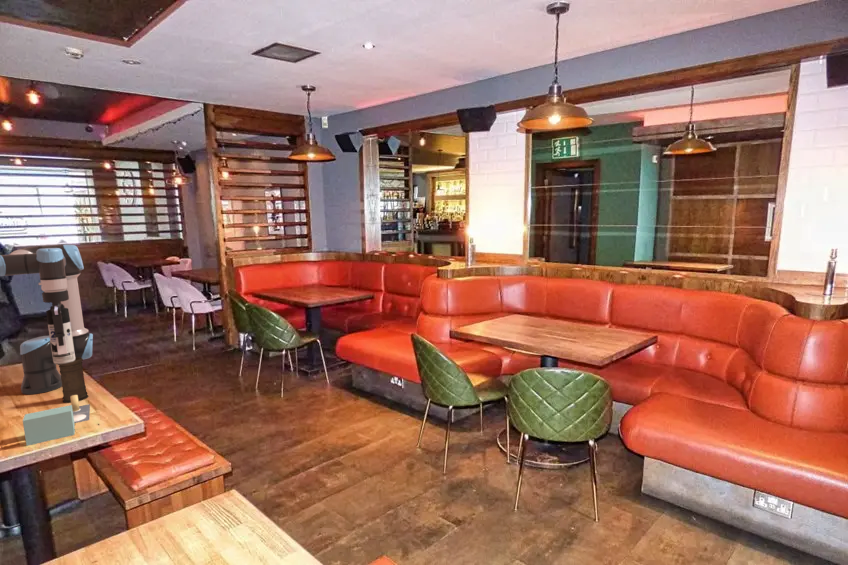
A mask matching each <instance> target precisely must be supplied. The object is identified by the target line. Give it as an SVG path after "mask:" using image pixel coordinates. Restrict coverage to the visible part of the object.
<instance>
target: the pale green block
mask: <svg viewBox="0 0 848 565" xmlns="http://www.w3.org/2000/svg"><path fill="white" fill-rule="evenodd" d="M75 424H76V423H74V417H73V410H72V405H71V404H70V405H64V406H61V407H60V406H59V407H55V408H49V409H45V410H41V411H35V412H30V413H25V414H24V416H23V419H22V426H23V431H24V438H25V442H26V447H27V446H31V445H36V444H42V443H45V442H50V441H53V440H58V439H62V438H63V439H64V438H67V437H70V436H71V437H72V436H75V432H76V431H75V430H76V428H75Z"/></svg>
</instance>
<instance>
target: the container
mask: <svg viewBox="0 0 848 565" xmlns="http://www.w3.org/2000/svg"><path fill="white" fill-rule="evenodd" d="M83 360H84V359H82V358H81V357H75V361H73V362H70V363H66V364H57V366H58V368H59V374H60V375H61V381H62V386H61V387H62V395H63V396H62V403H64V404H71V399H70V396H72V395H78V401H79V402H82V401H84V400H86V399H88V398H89V395H88V394H89V392H88V391H87V386H86V383H85V381H86V380H85V375H84V367H83Z"/></svg>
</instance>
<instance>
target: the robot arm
mask: <svg viewBox="0 0 848 565" xmlns="http://www.w3.org/2000/svg"><path fill="white" fill-rule="evenodd" d="M84 269H85V268H84V263H83V260H82V255H81V253H80V250H79V248H78V246H76V245H75V244H55V245H39V246H38V245H36V246H35V245H34V246H28V247H24V248H20V249H17V250H16V249H15V250H14V251H12V252H11V253H9V254H0V277H5V276H6V277H7V276H15V275H16V276H17V275H18V276H19V275H32V274H35V275H36V274H39V280H40V282H38V286H41V291H43V292H42V293H41V294H42V295H41V296H42V302H44V303H45V304H48V303H49V304H50V303H51V305H52V306H50V307H49V310H50V311H51V312H52V316H53V317H52V318H53V323H54V331H55V336H53V338H56V343H57V350H58V355H61V354H67V353H68V352H67V345H66V338H65V334H64V327H63V320H62V318H63V317H64V314H63V315H62V317H61V310H64V308H68V311H69V317H70V323H71V330H72V337H73V344H74V351H75V357H81V358H82V359H83V360H87V359H90V358H91V357H92V356H93V342H94V341H93V339H94V338H93V337H94V334H93V333H90V332H89V329H88V328H85V325H84V317H83V311H82V303H81V302H82V301H81V297H80V289H79V283H78V282H79V281H78V277H79V276H80V275H81V274H82V273H81V272H82V270H84ZM60 332H61V333H60ZM19 351H20V353H19V355H20V357H21V364H22V372H23V377H22V382H21V385H20V392H21V394H23V395H38V394H42V393H46V392H52V391H54V390H57V389H60V388H61V387H62V381H61V374H60V371H59V370H58V369H57V364H54V362H53V356H52V349H51V342H50V336H49V335H43V336H38V337H33V338H31V339H28V340H26V341H25V340H24V341H23V342H22V343H20V346H19Z"/></svg>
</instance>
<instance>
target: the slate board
mask: <svg viewBox="0 0 848 565" xmlns="http://www.w3.org/2000/svg"><path fill="white" fill-rule="evenodd" d="M70 399H71V403H70V405H72V410H73V417H74V424H77V423H81V422H86V421H90V416H91V415H90V413H91V412H90V410H91V409H90V408H91V407H90V406H91V404H90V403H89V404H88V403H87V404H85V405H80V401H78V395H72V396H70Z"/></svg>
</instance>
